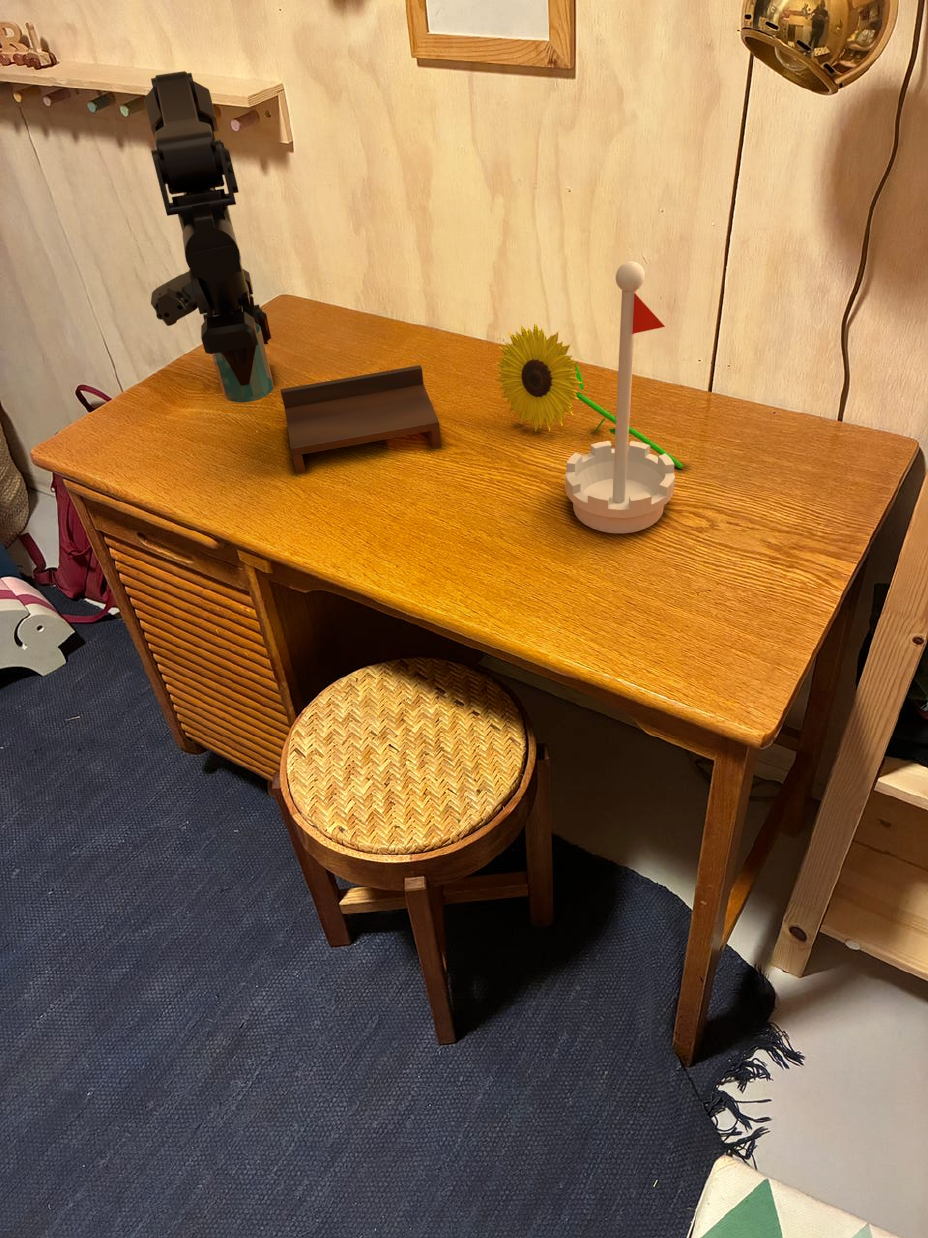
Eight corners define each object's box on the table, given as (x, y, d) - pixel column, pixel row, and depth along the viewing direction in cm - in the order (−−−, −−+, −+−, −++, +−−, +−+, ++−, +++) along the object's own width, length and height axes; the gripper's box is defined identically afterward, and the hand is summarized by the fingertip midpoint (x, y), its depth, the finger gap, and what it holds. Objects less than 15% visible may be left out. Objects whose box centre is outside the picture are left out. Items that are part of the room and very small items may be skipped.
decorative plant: (714, 417, 113) (534, 295, 123) (692, 430, 110) (507, 303, 119) (664, 506, 123) (501, 387, 133) (642, 521, 120) (475, 397, 129)
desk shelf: (289, 429, 132) (280, 388, 128) (425, 405, 134) (420, 364, 130) (296, 474, 123) (286, 431, 119) (441, 447, 125) (437, 404, 121)
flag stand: (543, 504, 114) (539, 264, 94) (618, 464, 119) (630, 228, 99) (617, 552, 106) (630, 301, 86) (695, 507, 111) (724, 260, 91)
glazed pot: (222, 382, 122) (207, 325, 116) (272, 374, 122) (259, 317, 117) (223, 406, 117) (207, 347, 112) (275, 397, 118) (261, 339, 112)
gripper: (147, 233, 113) (182, 350, 124) (139, 291, 100) (179, 418, 110) (237, 220, 115) (264, 337, 125) (241, 276, 101) (272, 402, 112)
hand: (244, 372), depth 118 cm, fingers closed on glazed pot, 6 cm apart
